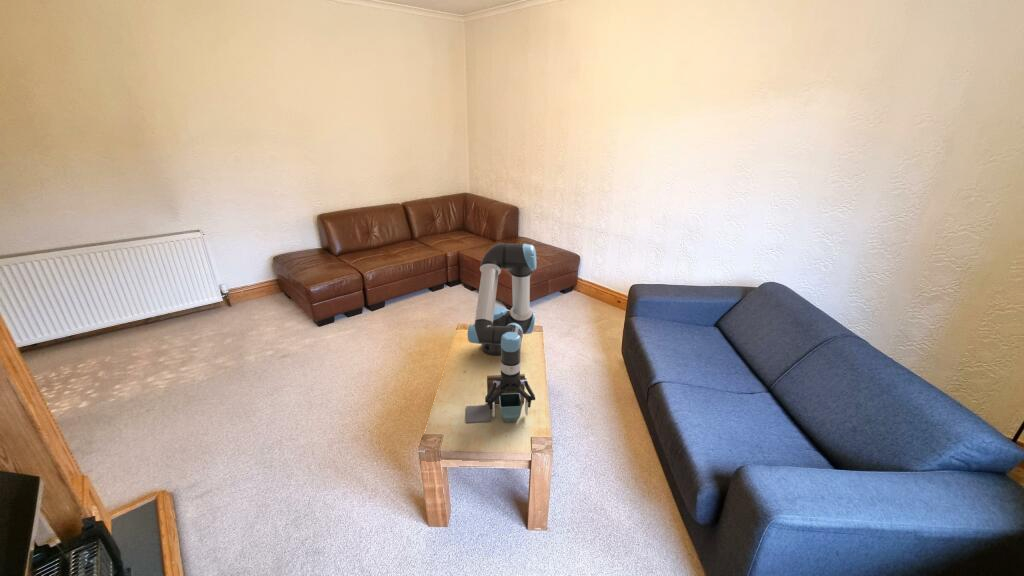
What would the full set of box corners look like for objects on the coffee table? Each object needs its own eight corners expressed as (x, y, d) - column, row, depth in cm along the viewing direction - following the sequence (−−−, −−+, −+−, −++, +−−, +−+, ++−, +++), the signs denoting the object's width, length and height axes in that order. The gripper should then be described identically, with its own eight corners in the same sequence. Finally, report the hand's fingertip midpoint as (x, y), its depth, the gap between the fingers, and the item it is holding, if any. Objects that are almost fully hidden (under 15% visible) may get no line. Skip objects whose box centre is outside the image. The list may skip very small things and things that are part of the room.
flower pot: (498, 411, 167) (498, 393, 164) (519, 410, 168) (519, 392, 165) (499, 425, 159) (499, 407, 156) (521, 424, 160) (522, 406, 157)
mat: (466, 407, 169) (466, 406, 169) (489, 406, 170) (489, 404, 170) (466, 423, 160) (466, 422, 160) (490, 421, 161) (490, 420, 161)
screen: (487, 399, 174) (486, 372, 169) (523, 397, 176) (523, 371, 171) (487, 408, 169) (487, 380, 164) (524, 406, 170) (525, 379, 165)
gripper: (478, 377, 150) (479, 422, 158) (543, 374, 153) (541, 418, 161) (478, 366, 157) (479, 409, 165) (540, 363, 160) (538, 406, 168)
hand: (510, 414), depth 163 cm, fingers open, 13 cm apart
